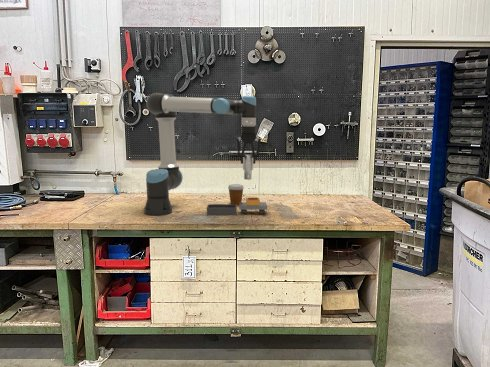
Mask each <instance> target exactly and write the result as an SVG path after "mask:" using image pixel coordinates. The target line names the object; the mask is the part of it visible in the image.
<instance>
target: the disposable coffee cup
mask: <svg viewBox="0 0 490 367" xmlns="http://www.w3.org/2000/svg"><path fill="white" fill-rule="evenodd" d="M227 188H228V193H229V200H230V201H229V202H230V203H229V204H236V206H237V207H239V202H242V201H243V193H244V189H245V187H244V185H243V184H241V183H239V184H237V183H235V184H229V185H228V187H227Z"/></svg>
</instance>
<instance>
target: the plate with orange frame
mask: <svg viewBox="0 0 490 367" xmlns="http://www.w3.org/2000/svg"><path fill="white" fill-rule="evenodd" d="M238 207H239V208H238V210H239V211H240V213H241V215H243V214H244V215H243V216H245V215H247V213H248V210H253V211H254V210H256V211H257V210H258V212H259V214H260V215H261V216H264V215H265V214H266V210H268V204H267V202H264V201H263V202H261V201H260V197H246V200H245V202H239V206H238Z"/></svg>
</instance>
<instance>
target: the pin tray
mask: <svg viewBox="0 0 490 367" xmlns="http://www.w3.org/2000/svg"><path fill="white" fill-rule="evenodd" d="M237 208H238V206H236V204H231V203H222V204H220V203H217V204H214V203H212V204H207V206H206V216H237V215H238V213H237V210H238V209H237Z"/></svg>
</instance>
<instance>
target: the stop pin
mask: <svg viewBox="0 0 490 367" xmlns="http://www.w3.org/2000/svg"><path fill="white" fill-rule="evenodd" d="M243 157H244V158H245V165H244V170H243V172H244V173H243V175H244V176H243V179H244V180H252V178H253V177H252V171H253V170H252V158H253V154H244V156H243Z"/></svg>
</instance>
